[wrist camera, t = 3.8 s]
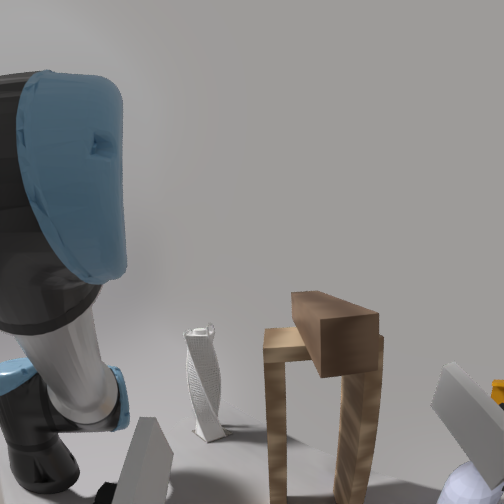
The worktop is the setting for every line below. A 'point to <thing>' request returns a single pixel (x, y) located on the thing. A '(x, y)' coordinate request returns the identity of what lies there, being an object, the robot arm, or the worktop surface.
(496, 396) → the soap bottle
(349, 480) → the bridge
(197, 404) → the skyscraper
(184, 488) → the worktop surface
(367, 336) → the walnut rail
